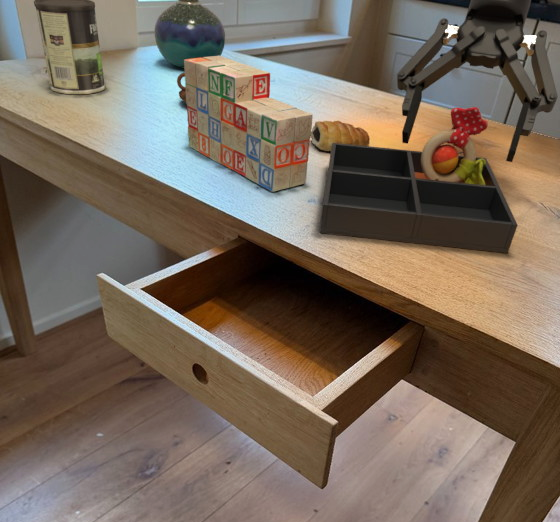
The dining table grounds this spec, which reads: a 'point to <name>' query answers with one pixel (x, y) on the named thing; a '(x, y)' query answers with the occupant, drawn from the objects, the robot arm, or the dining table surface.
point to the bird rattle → (446, 157)
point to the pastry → (337, 134)
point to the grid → (412, 202)
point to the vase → (188, 32)
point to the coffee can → (71, 45)
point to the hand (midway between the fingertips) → (456, 147)
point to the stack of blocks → (245, 123)
